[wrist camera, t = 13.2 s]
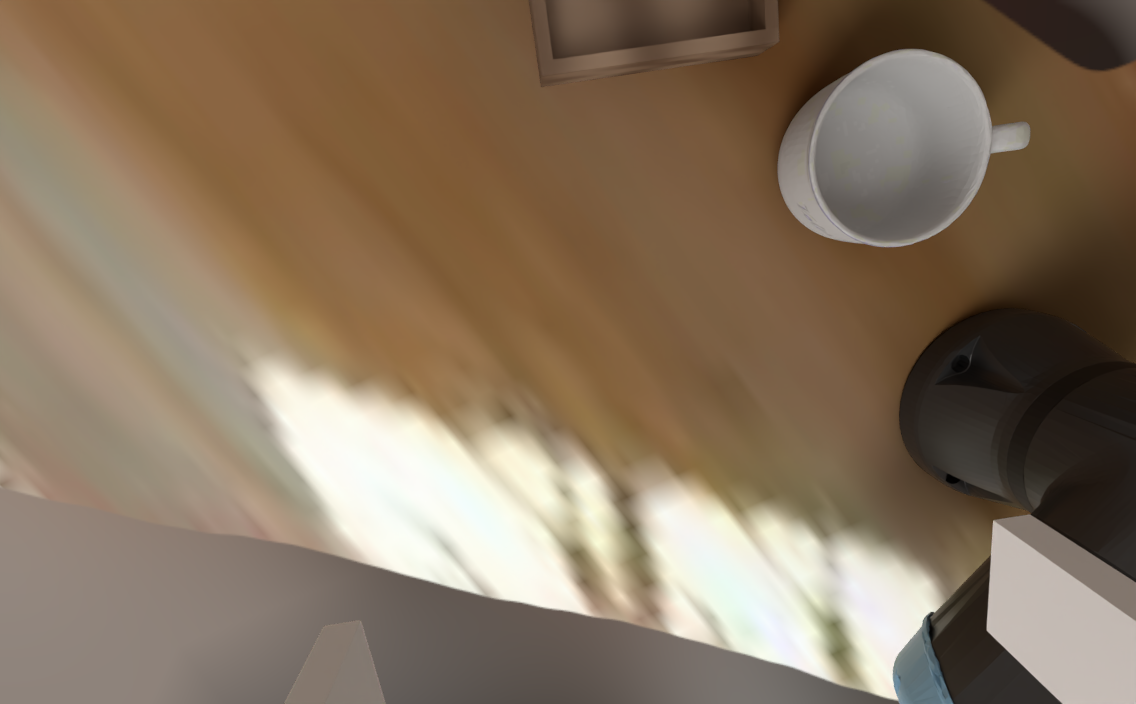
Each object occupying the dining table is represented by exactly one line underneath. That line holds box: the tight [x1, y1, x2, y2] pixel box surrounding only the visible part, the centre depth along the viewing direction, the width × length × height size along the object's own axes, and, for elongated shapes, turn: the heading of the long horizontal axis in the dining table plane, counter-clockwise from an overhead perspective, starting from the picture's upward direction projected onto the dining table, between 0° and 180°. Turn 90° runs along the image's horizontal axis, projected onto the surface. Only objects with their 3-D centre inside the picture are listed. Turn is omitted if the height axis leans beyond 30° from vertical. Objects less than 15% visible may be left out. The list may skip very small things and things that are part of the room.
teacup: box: [778, 49, 1030, 247], centre depth 36 cm, size 14×11×8 cm
